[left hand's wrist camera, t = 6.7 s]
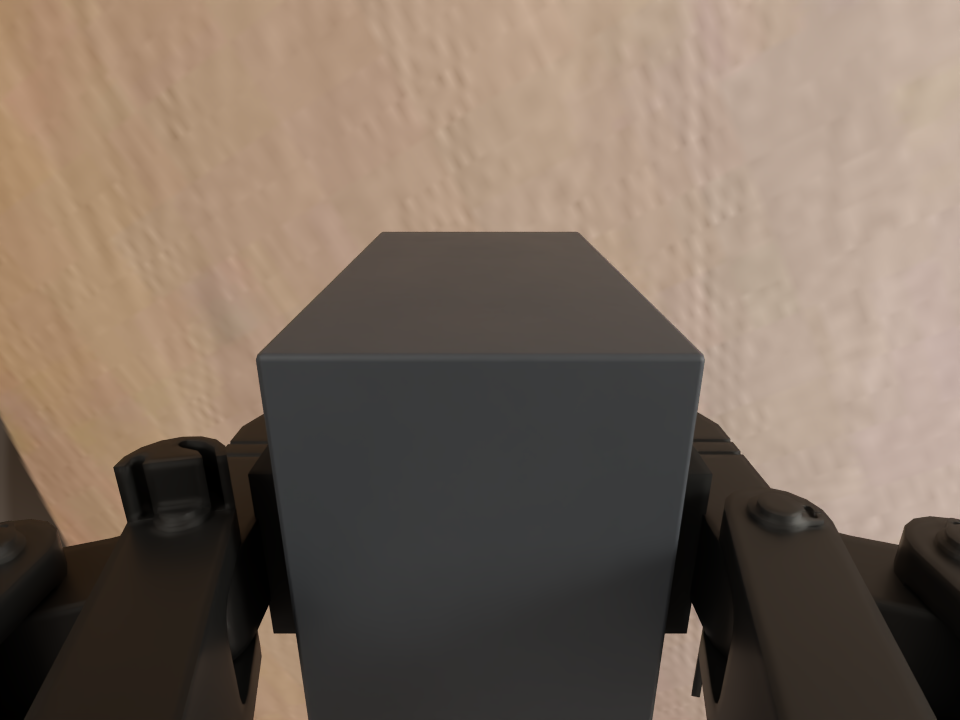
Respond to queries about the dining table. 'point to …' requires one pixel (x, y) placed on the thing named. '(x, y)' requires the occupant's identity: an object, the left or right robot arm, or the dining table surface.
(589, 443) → the bar
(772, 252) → the dining table surface
